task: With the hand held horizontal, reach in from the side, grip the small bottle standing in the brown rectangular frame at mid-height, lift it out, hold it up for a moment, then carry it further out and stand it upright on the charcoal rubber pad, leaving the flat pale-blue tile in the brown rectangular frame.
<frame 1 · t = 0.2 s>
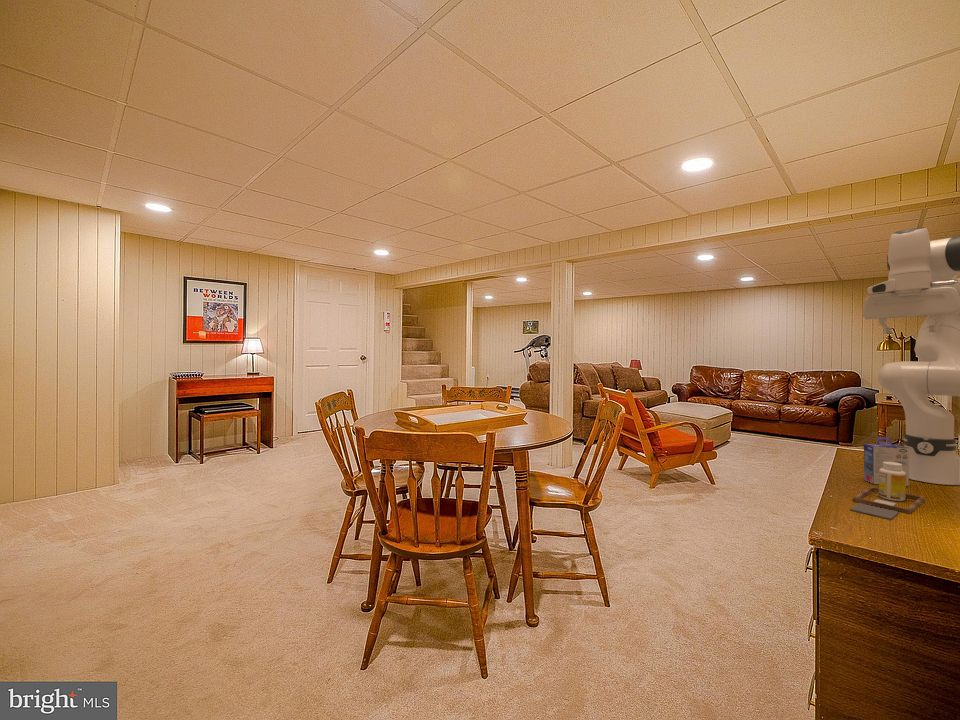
hand: (910, 332, 124), 48 cm above the table, tool pointing down, fingers open, 8 cm apart
flat tile: (884, 506, 119), resting in brown rectangular frame
supplement bottle: (891, 499, 124), resting in brown rectangular frame
pad: (874, 511, 113), on the table
ink cartridge box: (885, 483, 139), on the table
brown rectangular frame: (888, 501, 122), on the table
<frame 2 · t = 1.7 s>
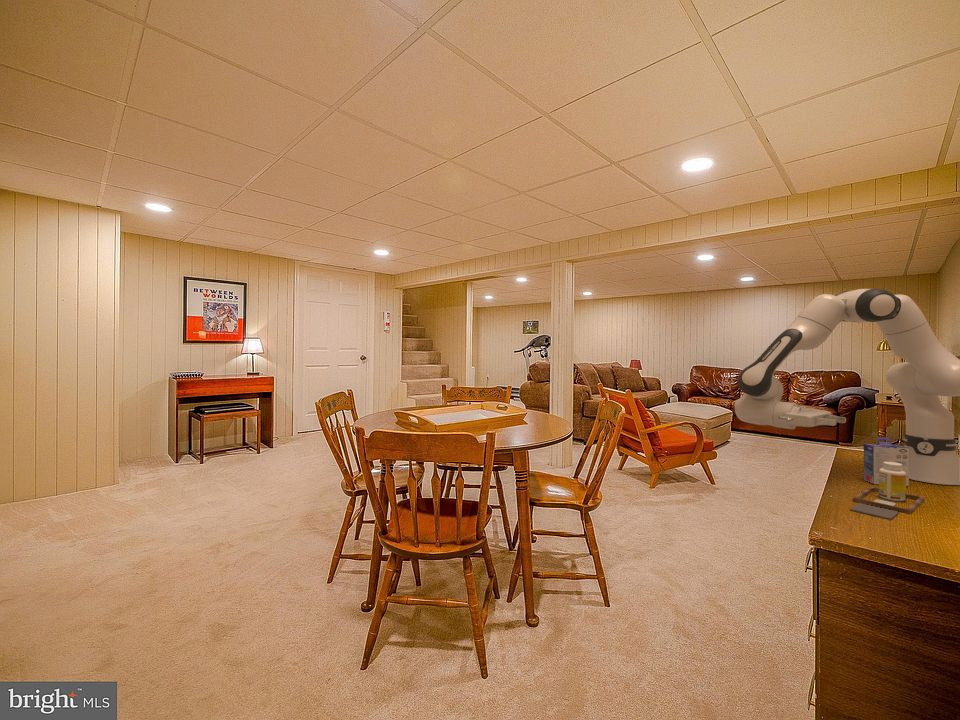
hand: (840, 421, 133), 21 cm above the table, tool horizontal, fingers open, 8 cm apart
nothing on the table moved.
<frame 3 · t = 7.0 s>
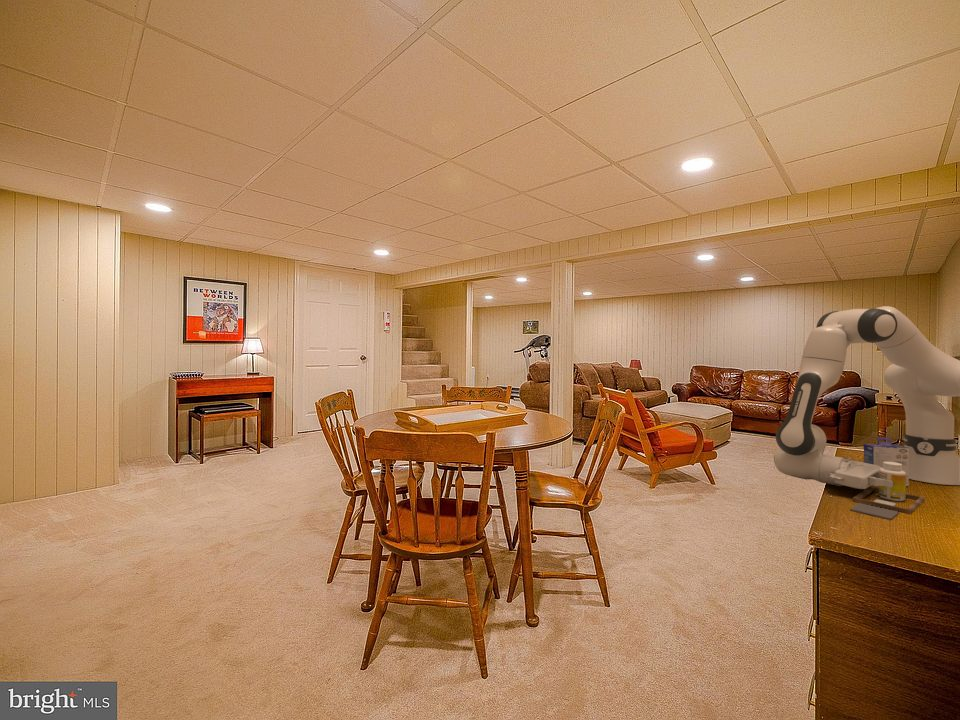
hand: (896, 481, 123), 5 cm above the table, tool horizontal, fingers closed on supplement bottle, 5 cm apart
supplement bottle: (891, 499, 124), resting in brown rectangular frame, touching gripper
everything else where it was.
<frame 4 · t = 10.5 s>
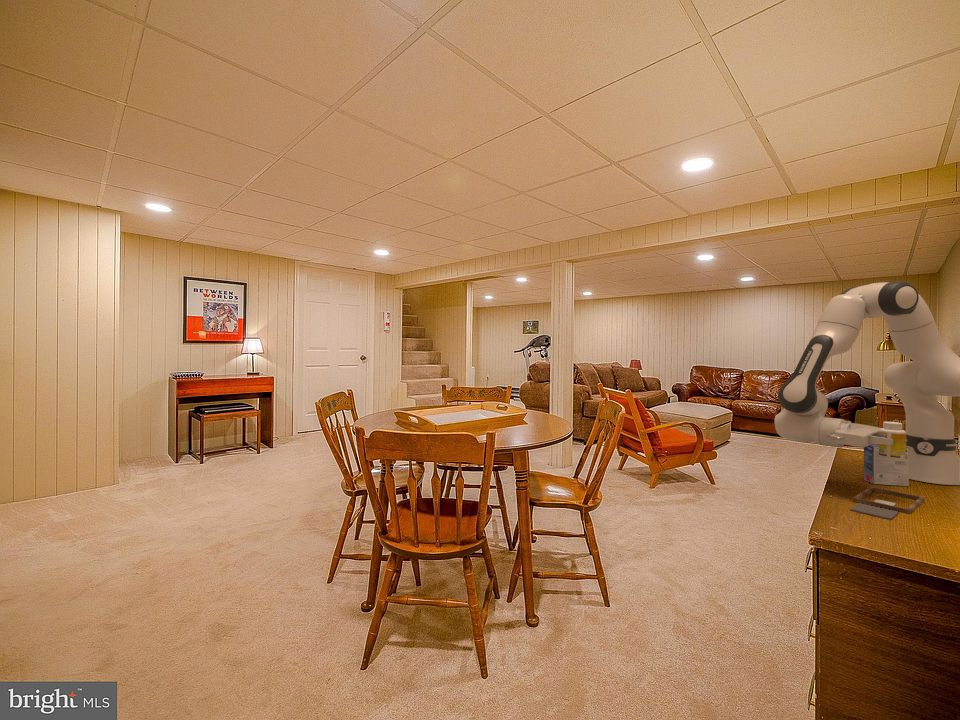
hand: (896, 440, 122), 17 cm above the table, tool horizontal, fingers closed on supplement bottle, 5 cm apart
supplement bottle: (891, 459, 123), point 11 cm above the table, touching gripper
everything else where it was.
when the fingers open (6 cm above the table, at t = 14.4 s): supplement bottle stays where it is, resting on pad.
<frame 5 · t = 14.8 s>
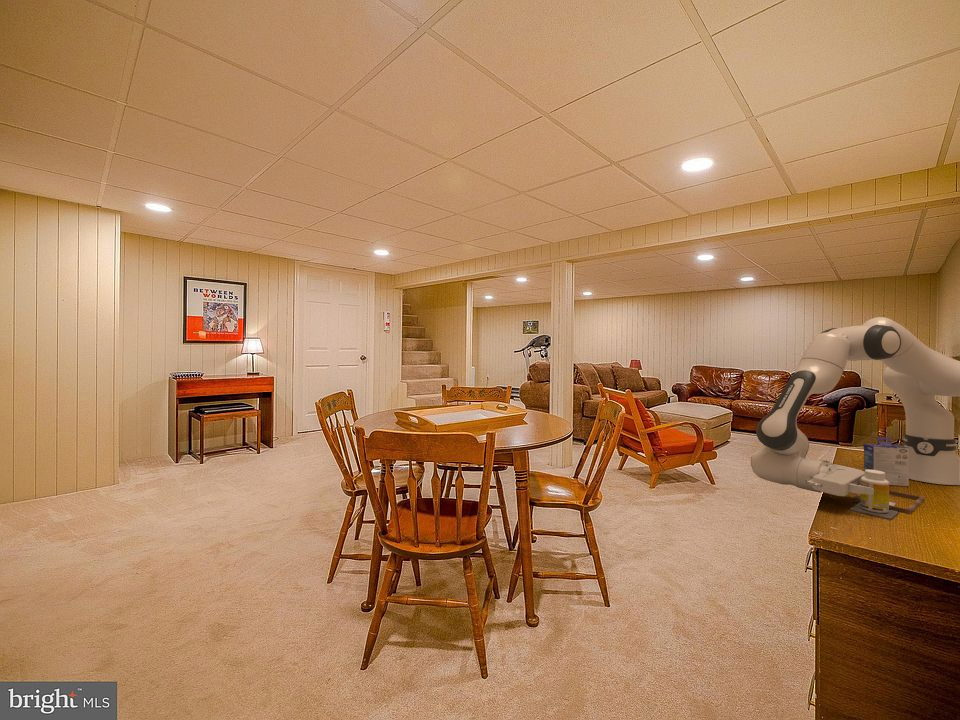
hand: (879, 488, 112), 6 cm above the table, tool horizontal, fingers open, 8 cm apart
supplement bottle: (874, 510, 113), resting on pad
everything else where it was.
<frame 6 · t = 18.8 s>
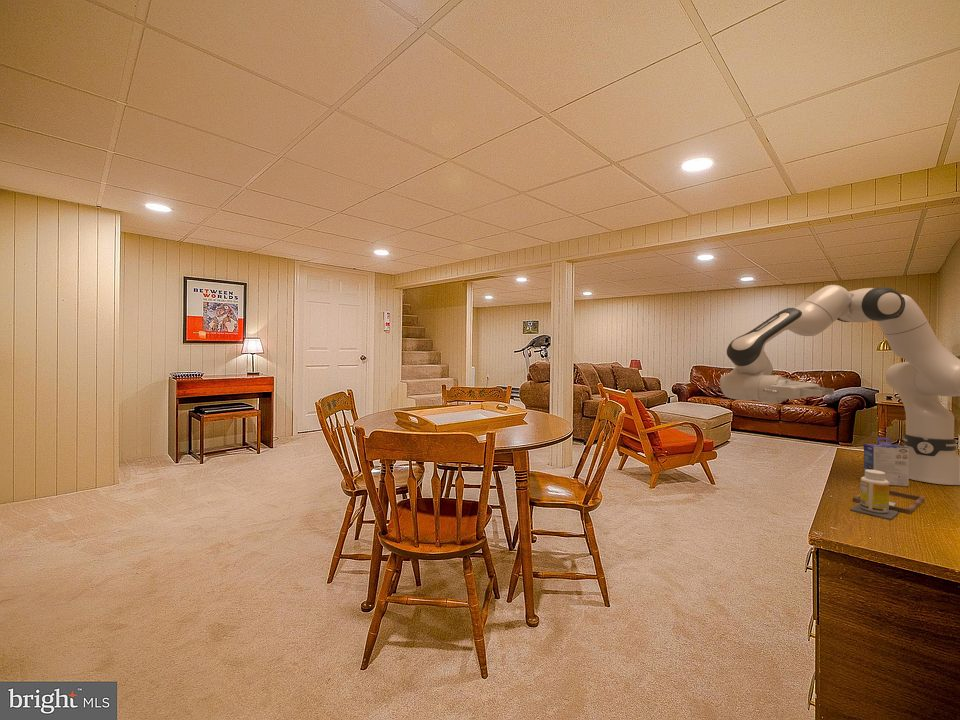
hand: (828, 392, 126), 30 cm above the table, tool horizontal, fingers open, 8 cm apart
nothing on the table moved.
at the end: supplement bottle inside the target area on the pad (0.2 cm from its centre), point 0.2 cm above the pad's base; supplement bottle tilted 0°; the gripper is holding nothing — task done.
